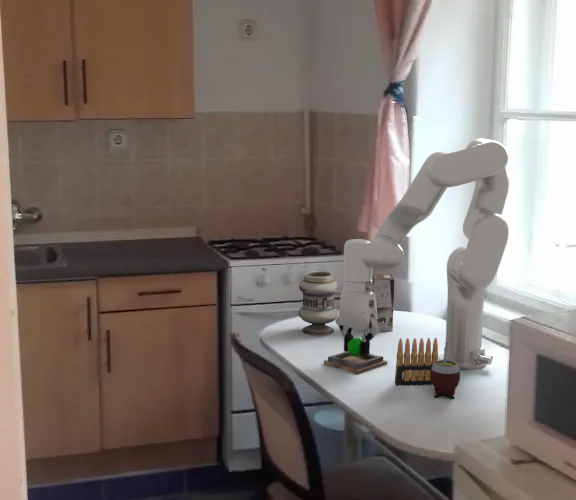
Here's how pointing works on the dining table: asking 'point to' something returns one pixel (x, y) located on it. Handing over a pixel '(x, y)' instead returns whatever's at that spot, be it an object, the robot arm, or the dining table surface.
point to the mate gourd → (445, 377)
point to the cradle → (355, 362)
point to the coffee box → (384, 300)
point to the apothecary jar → (318, 302)
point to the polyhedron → (354, 346)
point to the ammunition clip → (415, 363)
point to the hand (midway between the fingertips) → (356, 352)
